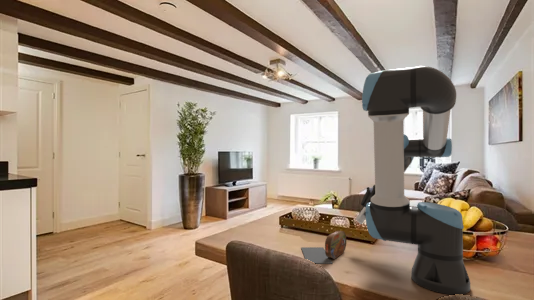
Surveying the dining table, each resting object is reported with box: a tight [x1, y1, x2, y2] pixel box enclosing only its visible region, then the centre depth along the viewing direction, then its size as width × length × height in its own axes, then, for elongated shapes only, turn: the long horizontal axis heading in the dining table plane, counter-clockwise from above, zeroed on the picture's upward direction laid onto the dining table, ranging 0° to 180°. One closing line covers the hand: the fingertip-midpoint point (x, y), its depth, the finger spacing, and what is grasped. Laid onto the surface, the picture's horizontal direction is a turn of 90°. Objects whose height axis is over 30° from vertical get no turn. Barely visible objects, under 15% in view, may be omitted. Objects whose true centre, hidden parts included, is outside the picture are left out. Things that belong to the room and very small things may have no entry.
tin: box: [324, 230, 347, 260], centre depth 107 cm, size 15×3×8 cm, turn 143°
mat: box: [300, 246, 333, 265], centre depth 107 cm, size 16×9×1 cm, turn 0°
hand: (358, 221), depth 113 cm, fingers closed
